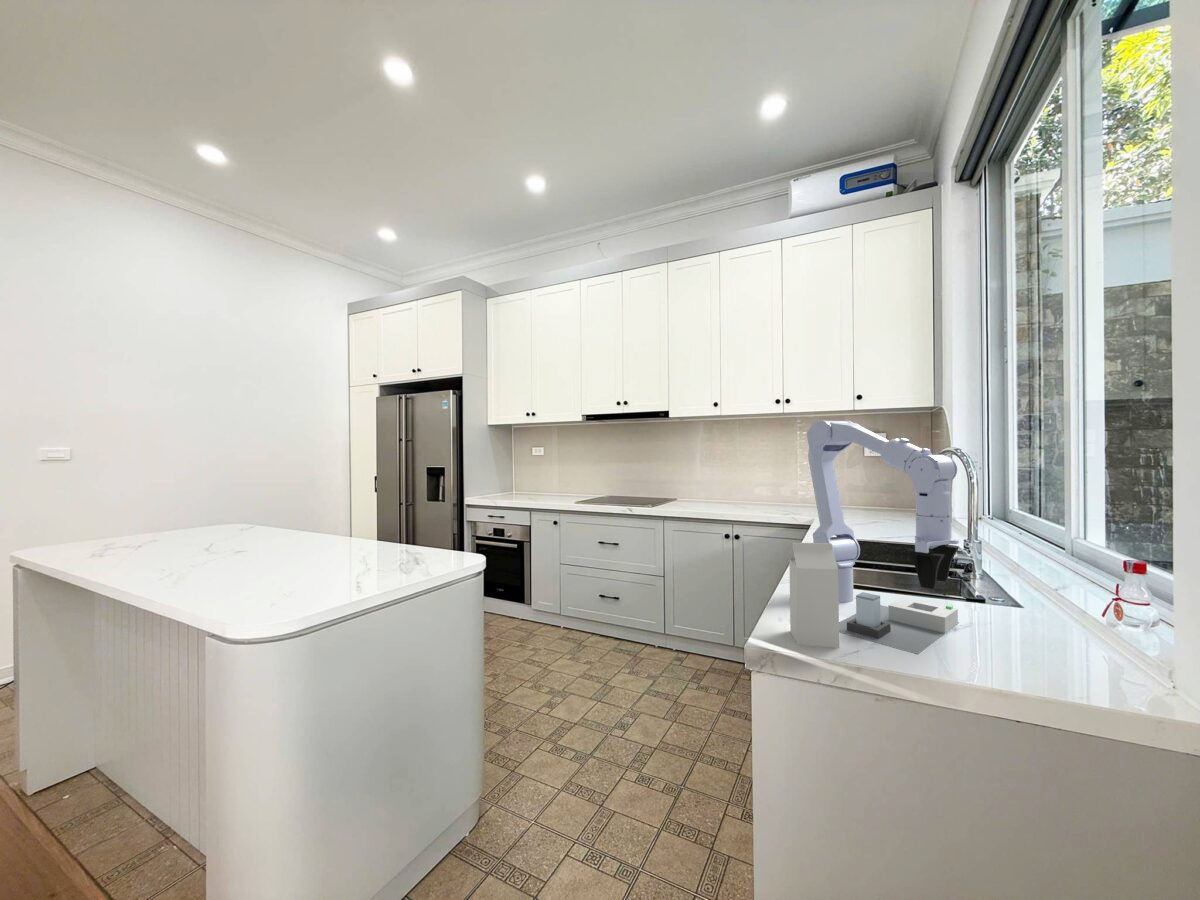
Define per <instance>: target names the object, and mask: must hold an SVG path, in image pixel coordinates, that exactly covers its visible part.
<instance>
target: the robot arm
mask: <svg viewBox="0 0 1200 900" xmlns="http://www.w3.org/2000/svg"><path fill="white" fill-rule="evenodd" d="M806 438H807V444H808V454H807V456H808V457H807V458H808V463H809V470H810V475H811V481H812V487H813V491H814V492H813V494H814V497H815V498H814V499H815V504H816V510H817V516H818V521H819V526H818V527H817V528H816V530H815V531H814V532H813V533H812V538H813V542H812V543H832V547H833V553H834V556H835V560H836V563H837V567H838V600H839V604H840V603H851V602H853V601H854V599H855V600H856V597H854V565H856V560H858V558H859V557H860V555H861V547H860V544H859V541H858V540H857V539H856V536H855V533H854V530H853V529H852V528H851V527H849V525H847V524H846V523H845V517H844V513H843V507H842V501H841V496H840V492H839V486H838V480H837V474H836V471H835V465H834V460H835V459H836V457H837V456H838V455H839V454H840V453H842V452H843V451H844V450H846V449H847V448H848V447H850V446H851V445H852V444H855V445H858V446H861V447H863V448H865V449H867V450H870V451H872V452H875V453H877V454H879V455H880V458H881V460H882V462H883V463H885V464H887V465H889V466H891V467H894V468H895V469H897V470H899V471H901V472H903V473H906V474H907V475H908V477H909V478H910V480H911V481H912V482H913V490H915V494H914V495H915V535H914V541H915V542H914V548H909V549H907V554H908V556H909V558H910V560H911V561H912V563H913V565H914V568H915V571H916V574H917V578H918V582H919V585H920V587H921V588H925V589H931V590H935V588H936V584H937V581H939V582H944V583H945V582H947V580H948V578H949V574H950V569H951V565H952V561H953V559H954V557H955V555H956V554H957V552H958V551H959V546H958V544H960V540H959V539H956V538H952V510H951V509H952V508H951V506H952V505H951V503H952V502H951V501H952V500H951V498H952V497H951V495H952V494H951V481H953V480H954V479H955V477H956V476H957V473H958V466H957V463H956V462H955V461H954V459H953V458H951V457H950V456H948V455H947V454H945V453H938V454H937V453H936V454H933V453H932V452H931V449H930V448H929V449H928V448H926V447H925V448H924V447H923V448H921V447H919V446H916V445H914V444H912V443H910V439H908V438H905V437H900V438H893V439H890V440H889V439H887V438H885V437H883V436H881V435H878V433H877V434H876V433H875V432H873V431H871V430H869V429H867V428H865V427H863V426H861V425H860V424H859V423H856V422H852V421H850V420H823V419H818V420H815V421H814V422H812V423H811V425H810V426H809V428H808V430H807V431H806Z"/></svg>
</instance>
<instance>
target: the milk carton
mask: <svg viewBox="0 0 1200 900" xmlns="http://www.w3.org/2000/svg"><path fill="white" fill-rule="evenodd" d="M791 544H792V549H791V552H790V556H789V563H788V565H789V617H790V618H789V619H790V620H789V621H790V623H789V624H790V633H791V635H792V637H793V639H794V640H795V643H796V644H797V646H805V647H819V648H821V647H822V648H837V649H839V648H840V633H839V622H840V618H839V616H840V612H839V611H840V610H839V609H840V608H839V607H840V606H839V605H840V603H839V600H838V567H837V563H836V560H835V556H834V553H833V547H832V543H813V542H792V543H791Z"/></svg>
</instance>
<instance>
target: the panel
mask: <svg viewBox="0 0 1200 900" xmlns="http://www.w3.org/2000/svg"><path fill="white" fill-rule="evenodd" d="M958 614H959V612H958V608H955V607H954V605H951V604H950V605H949V604H946V605H940V604H934V603H930V602H925V601H919V600H915V599H910V598H905V597H902V598H900V599H897V600H896V601H894V602H892V603H890V604H888V606H887V605H882V604H880V619H881V626H879V627H877V628H872V627H868V626H864V625H861V624H857V623H856V613H855V614H853V615H851V616H849V617H847V618H845V619H842V620H839V634H843V635H848V636H851V637H855V638H858V639H862V640H865V641H869V642H871V643H876V644H878V645H883V646H887V647H890V648H892V649H896V650H900V651H904V652H908V653H912V654H914V655H919V654H920V653H922V652H923V651H924V650H926V649H927V648H928V647H930V646H931V645H932V644H933V643H935V642H937V640H939V639H940V638H942V637H943V636H944V635H945V634H947V633H948V632H949V631H951V630H953V628H955V627H956V626H957V625H959V624H960V622H959V619H958V618H959V615H958Z"/></svg>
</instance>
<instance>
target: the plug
mask: <svg viewBox="0 0 1200 900" xmlns="http://www.w3.org/2000/svg"><path fill="white" fill-rule="evenodd" d="M855 598H856V599H855V604H856V605H855V609H856V610H855V611H856V613H855V614H856V623H857V624H861V625H864V626H868V627H872V628H877V627H879V626H881V619H880V605H881V595H878V594H874V593H869V592H868V593H867V592H864V591H863V592H860V593H858V594H856V595H855Z"/></svg>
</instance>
